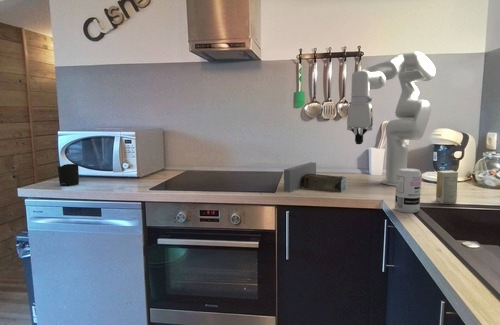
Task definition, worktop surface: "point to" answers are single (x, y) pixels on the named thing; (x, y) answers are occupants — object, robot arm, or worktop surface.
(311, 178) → the beverage carton
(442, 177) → the skincare box
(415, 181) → the supplement can
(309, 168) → the board
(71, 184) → the pen holder
